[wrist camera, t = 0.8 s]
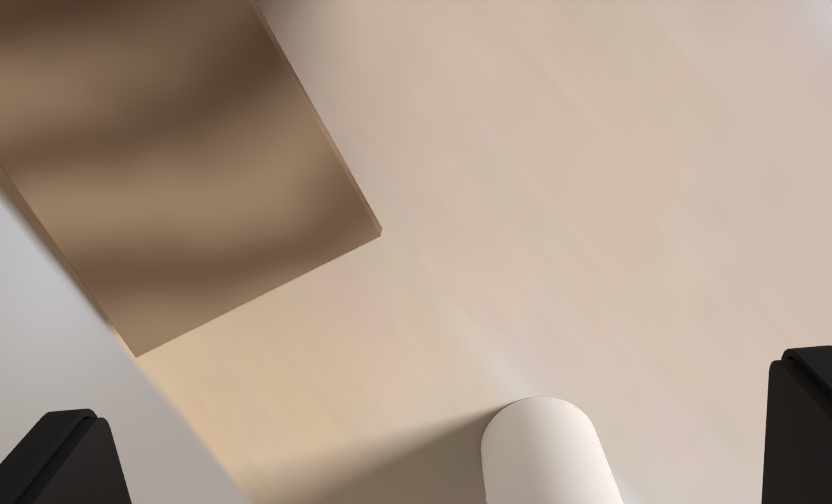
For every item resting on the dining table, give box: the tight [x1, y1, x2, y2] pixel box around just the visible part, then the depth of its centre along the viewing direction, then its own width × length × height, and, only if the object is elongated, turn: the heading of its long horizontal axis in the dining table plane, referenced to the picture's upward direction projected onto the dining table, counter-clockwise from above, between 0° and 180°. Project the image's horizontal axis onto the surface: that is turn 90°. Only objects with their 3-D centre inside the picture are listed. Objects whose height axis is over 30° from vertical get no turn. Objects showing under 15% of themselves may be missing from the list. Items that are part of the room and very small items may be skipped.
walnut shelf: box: [0, 0, 382, 357], centre depth 37 cm, size 20×14×6 cm
